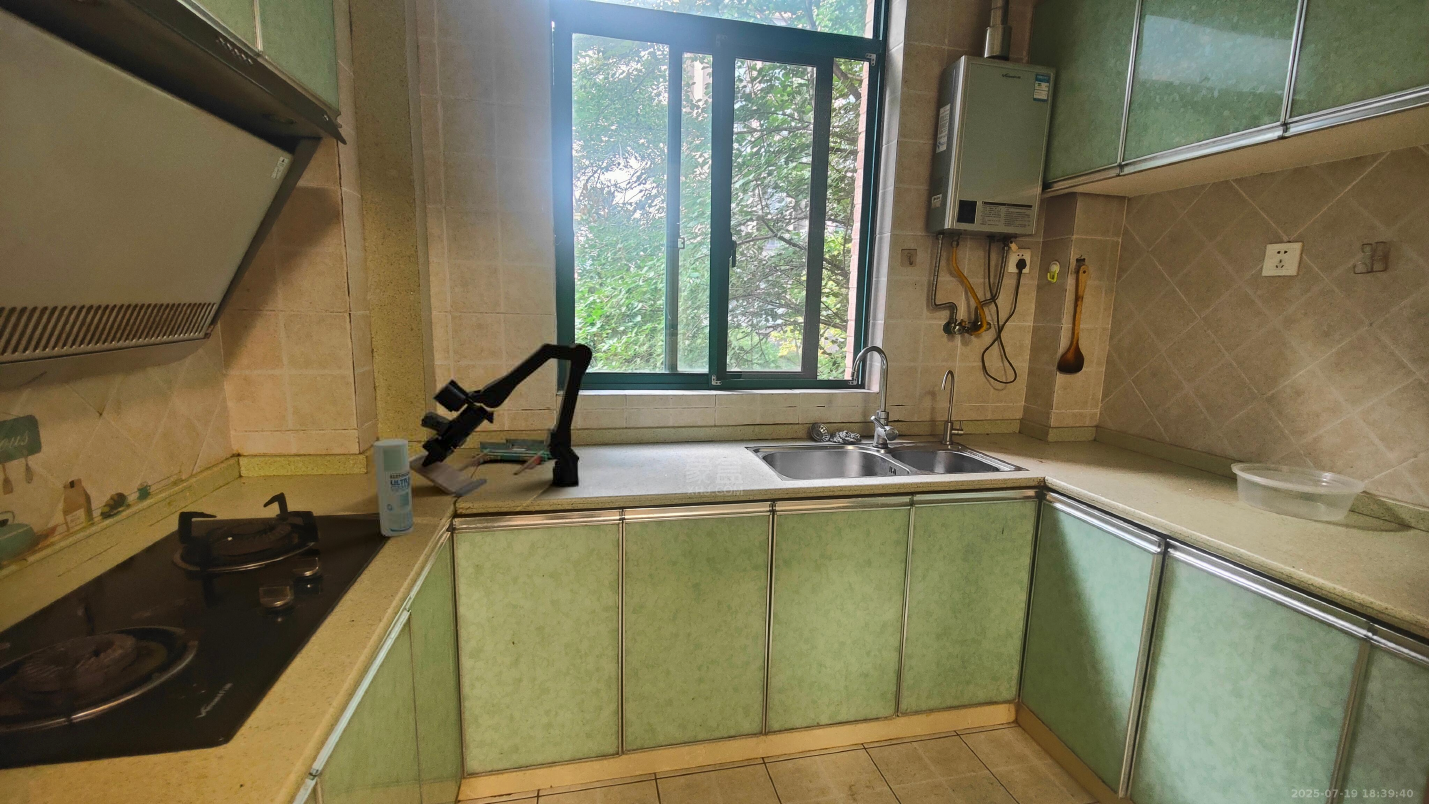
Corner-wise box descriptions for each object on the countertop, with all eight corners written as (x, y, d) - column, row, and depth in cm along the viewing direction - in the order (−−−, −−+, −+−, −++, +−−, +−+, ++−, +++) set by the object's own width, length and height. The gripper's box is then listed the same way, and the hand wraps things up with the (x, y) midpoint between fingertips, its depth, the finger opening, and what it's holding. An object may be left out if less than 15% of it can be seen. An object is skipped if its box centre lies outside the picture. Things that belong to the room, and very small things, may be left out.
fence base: (487, 485, 160) (486, 478, 159) (463, 500, 148) (462, 492, 147) (480, 485, 160) (479, 478, 159) (455, 499, 148) (455, 492, 148)
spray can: (392, 539, 124) (384, 447, 120) (374, 532, 127) (366, 443, 124) (420, 529, 129) (414, 440, 126) (402, 523, 132) (395, 437, 129)
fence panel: (474, 480, 159) (428, 450, 159) (453, 491, 149) (404, 460, 149) (472, 484, 159) (426, 454, 159) (451, 496, 149) (402, 464, 149)
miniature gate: (441, 464, 169) (489, 434, 198) (443, 482, 170) (491, 450, 199) (531, 468, 166) (567, 437, 195) (532, 486, 168) (567, 453, 197)
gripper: (452, 396, 159) (411, 436, 159) (428, 408, 140) (382, 453, 141) (483, 424, 161) (443, 464, 161) (464, 439, 143) (419, 484, 143)
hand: (423, 465), depth 151 cm, fingers closed
